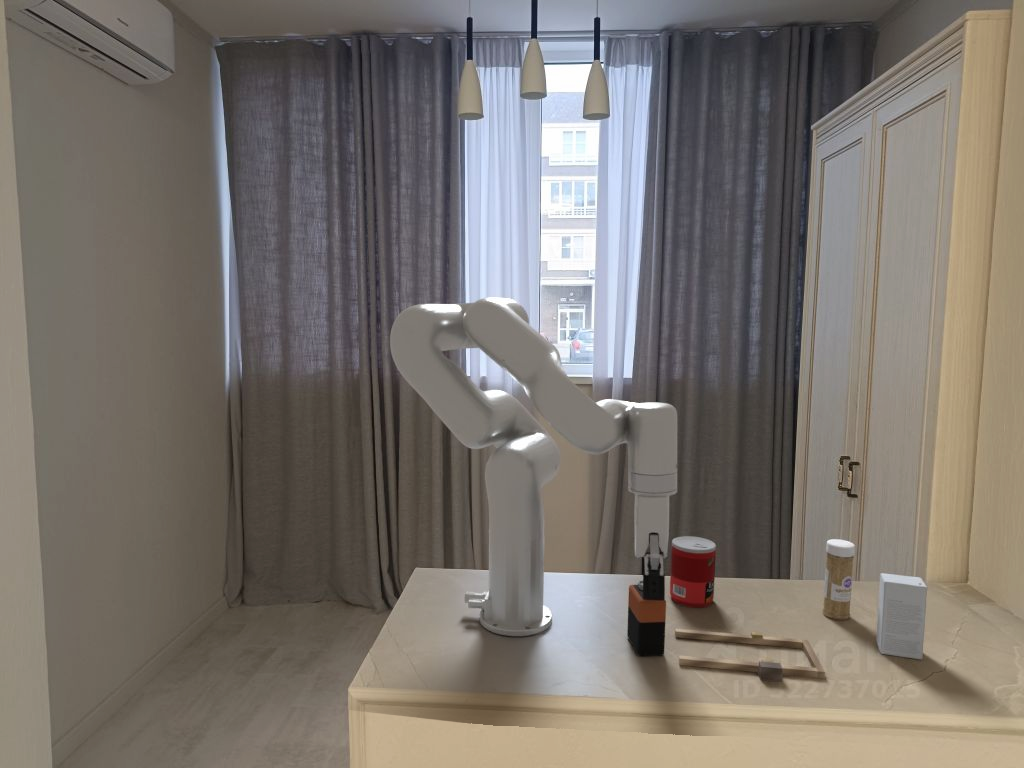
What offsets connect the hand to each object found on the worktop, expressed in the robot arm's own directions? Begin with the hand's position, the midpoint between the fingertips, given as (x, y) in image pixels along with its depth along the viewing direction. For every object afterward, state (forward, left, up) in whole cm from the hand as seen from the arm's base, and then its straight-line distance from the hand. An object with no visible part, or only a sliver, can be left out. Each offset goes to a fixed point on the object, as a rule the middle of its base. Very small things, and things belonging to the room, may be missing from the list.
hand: (652, 586), depth 109 cm
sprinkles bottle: (+33, +18, -10) cm, 39 cm away
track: (+15, -1, -10) cm, 18 cm away
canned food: (+8, +20, -10) cm, 24 cm away
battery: (-1, 0, -10) cm, 10 cm away
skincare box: (+39, +6, -10) cm, 41 cm away
